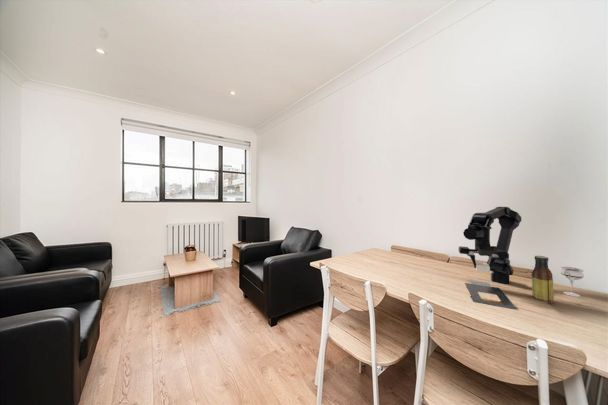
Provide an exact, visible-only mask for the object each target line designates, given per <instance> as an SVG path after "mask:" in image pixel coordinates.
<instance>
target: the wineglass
mask: <svg viewBox="0 0 608 405" xmlns="http://www.w3.org/2000/svg"><path fill="white" fill-rule="evenodd" d="M560 269H561V270H559V271H560V275H561V276H562V277H563V278H565V279H567V280H568V281H569V282H570V283H569V284H570V291H563V294H565V295H568V296H572V297H581V295H580V294H578V293H575V292H573V287H574V285H573V284H574V282H575V281H579V280H582V279H583V278H584V273H583V272H584V269H580V268H576V267H570V266H560Z"/></svg>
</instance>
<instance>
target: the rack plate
mask: <svg viewBox="0 0 608 405" xmlns="http://www.w3.org/2000/svg"><path fill="white" fill-rule="evenodd" d="M464 284H465V287H466V289H467V290H468V293H469V295H470V299H471V301H472V302H474V303H479V304H484V305H490V306H496V307H502V308H508V309H511V310H516V308H517V307H516V305H514V303H513V302H512V301H511V299H510V298H508V296H507V294H505V292H503V290H502V289H501V288H500V287H496V286H495V287H494V286H491V285H490V286H485V285H478V284H471V282H470V283H469V282H464ZM479 293H484V294H491V295H495V296H497V298H498V299H499V301H498V300H492V299H486V298H482V297H481V295H480V294H479Z"/></svg>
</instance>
